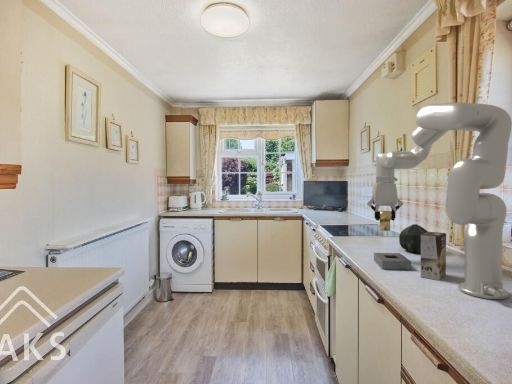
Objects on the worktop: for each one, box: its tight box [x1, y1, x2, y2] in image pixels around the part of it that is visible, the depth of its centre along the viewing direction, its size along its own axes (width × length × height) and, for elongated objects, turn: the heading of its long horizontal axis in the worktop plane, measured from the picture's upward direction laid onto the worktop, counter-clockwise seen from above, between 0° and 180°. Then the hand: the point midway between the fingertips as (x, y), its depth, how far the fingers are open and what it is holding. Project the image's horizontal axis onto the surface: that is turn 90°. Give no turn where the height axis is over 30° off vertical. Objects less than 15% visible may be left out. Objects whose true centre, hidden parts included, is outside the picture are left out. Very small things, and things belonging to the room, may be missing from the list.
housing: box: [373, 252, 412, 271], centre depth 128 cm, size 14×11×4 cm
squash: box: [398, 223, 429, 254], centre depth 150 cm, size 14×15×15 cm
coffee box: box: [420, 231, 447, 281], centre depth 112 cm, size 9×6×16 cm
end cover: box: [378, 210, 393, 232], centre depth 136 cm, size 6×6×8 cm
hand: (384, 219), depth 136 cm, fingers closed on end cover, 6 cm apart
